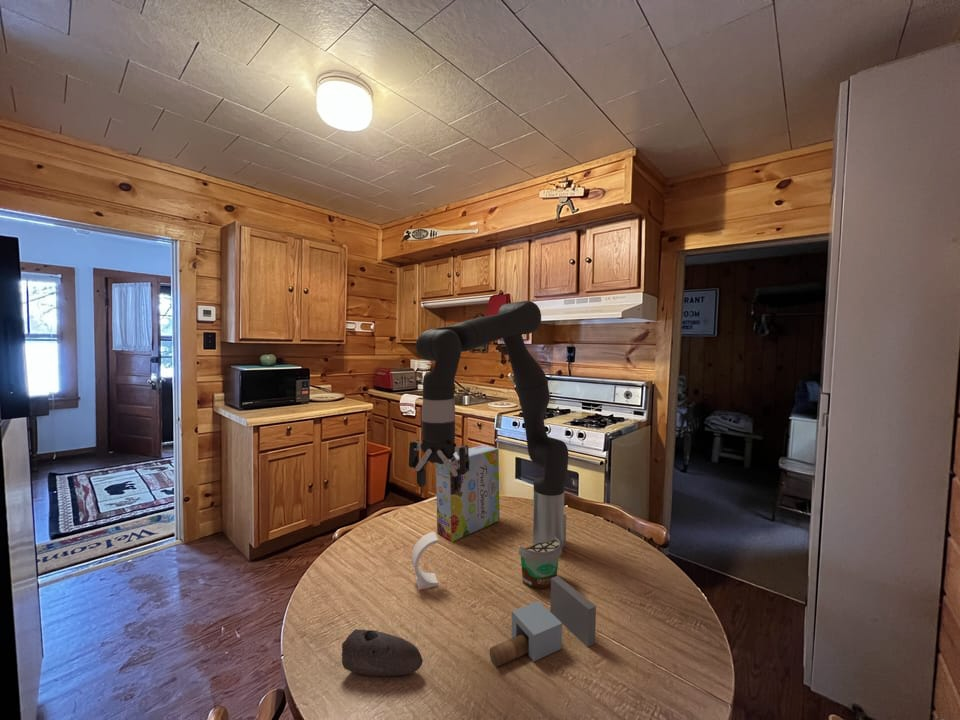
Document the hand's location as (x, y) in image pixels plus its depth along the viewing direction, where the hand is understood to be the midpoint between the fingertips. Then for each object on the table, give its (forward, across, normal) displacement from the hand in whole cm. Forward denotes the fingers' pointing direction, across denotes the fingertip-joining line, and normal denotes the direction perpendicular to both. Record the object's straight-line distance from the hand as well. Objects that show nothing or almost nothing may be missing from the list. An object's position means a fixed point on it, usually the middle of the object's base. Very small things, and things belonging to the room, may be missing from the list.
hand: (438, 488), depth 90 cm
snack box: (+29, +10, -40) cm, 51 cm away
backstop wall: (+29, -29, -6) cm, 42 cm away
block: (+29, -23, +1) cm, 37 cm away
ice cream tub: (+29, -21, -19) cm, 40 cm away
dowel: (+29, -19, +6) cm, 35 cm away
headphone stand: (+29, +8, -8) cm, 31 cm away
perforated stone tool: (+29, +2, +19) cm, 35 cm away
